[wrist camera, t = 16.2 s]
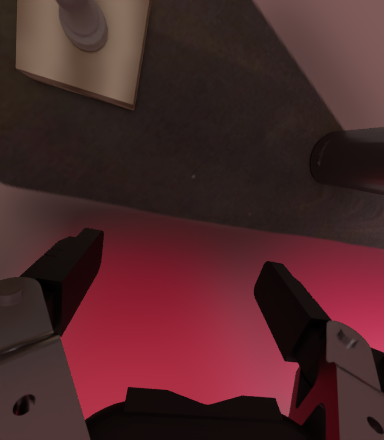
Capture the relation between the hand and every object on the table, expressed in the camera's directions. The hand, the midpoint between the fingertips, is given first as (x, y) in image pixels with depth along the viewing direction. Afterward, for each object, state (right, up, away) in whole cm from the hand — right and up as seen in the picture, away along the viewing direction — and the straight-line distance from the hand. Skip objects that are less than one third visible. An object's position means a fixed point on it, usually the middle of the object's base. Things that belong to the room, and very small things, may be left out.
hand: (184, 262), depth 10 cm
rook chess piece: (-11, +22, +12) cm, 28 cm away
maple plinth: (-12, +24, +16) cm, 31 cm away
